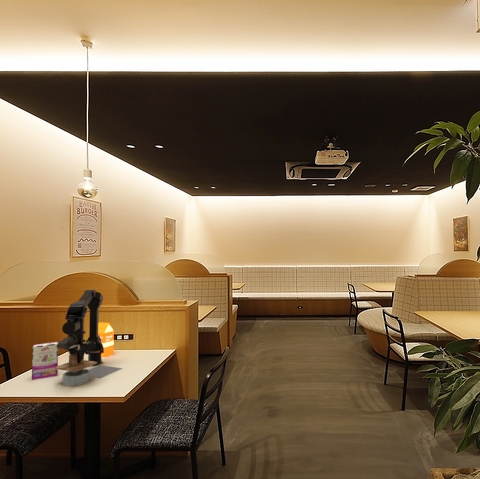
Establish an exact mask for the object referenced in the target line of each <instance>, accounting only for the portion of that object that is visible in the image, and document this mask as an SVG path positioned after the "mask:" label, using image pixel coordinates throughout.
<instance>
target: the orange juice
mask: <svg viewBox="0 0 480 479" xmlns="http://www.w3.org/2000/svg"><path fill="white" fill-rule="evenodd" d="M98 335H99V336H100V338H101V343H102V344H103V347H104V353H102V354H101V358H107V357H111V356H113V355H114V351H115V350H114V346H115V345H114V344H115V343H114V342H115V339H114V338H115V336H114V335H115V330H114V329H113V327H112V325H111V324H110V323H109V322H101V321H99V323H98Z"/></svg>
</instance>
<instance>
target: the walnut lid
mask: <svg viewBox="0 0 480 479" xmlns="http://www.w3.org/2000/svg"><path fill="white" fill-rule="evenodd" d="M95 364H97V362H94V361H88V359H87V360H86V359H85V355H84V356H83V358H82V360H81V362H80V363H78V360H77V353H75V354H72V355H70V354H69V355H68V362H65V363H63V364H61V365H59V364H58V366H57V367H55V369H58V371H64V372H67V371H71V372H77V371H79V370H82V369H87V368H89V367H91V366H92V365H95ZM92 367H93V366H92Z"/></svg>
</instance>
